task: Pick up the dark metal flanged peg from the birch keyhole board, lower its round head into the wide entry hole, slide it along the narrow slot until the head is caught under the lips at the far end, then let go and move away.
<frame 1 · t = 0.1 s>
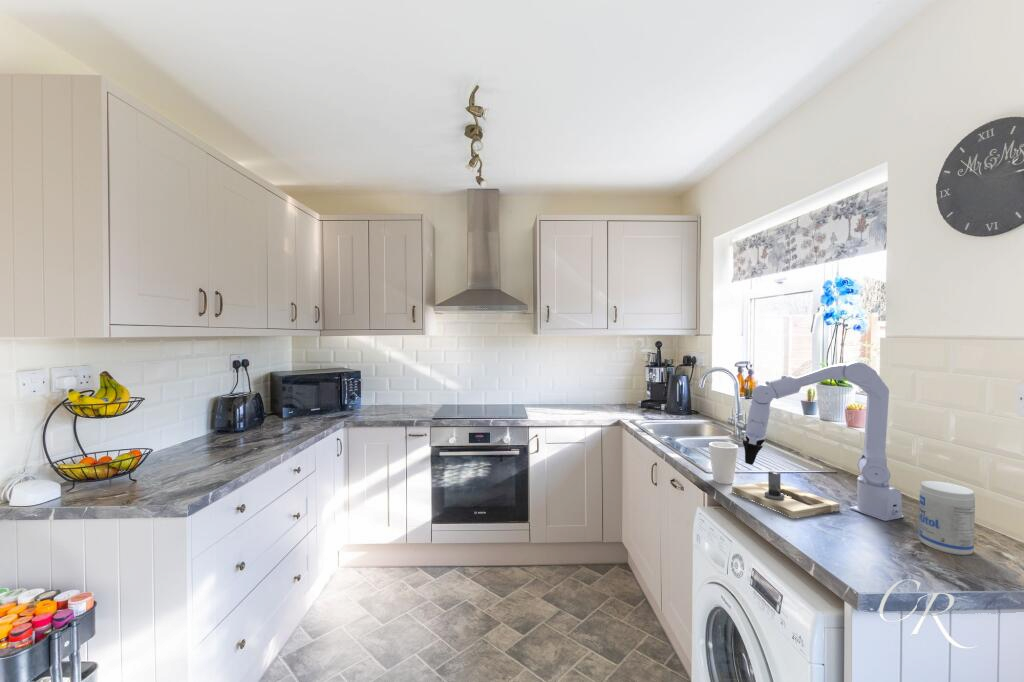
hand: (750, 461, 144), 10 cm above the worktop, tool pointing down, fingers open, 7 cm apart
peg: (774, 497, 134), point 2 cm above the worktop, touching keyhole board
keyhole board: (782, 501, 136), on the worktop
foam cup: (723, 481, 155), on the worktop
supplement tub: (945, 547, 106), on the worktop
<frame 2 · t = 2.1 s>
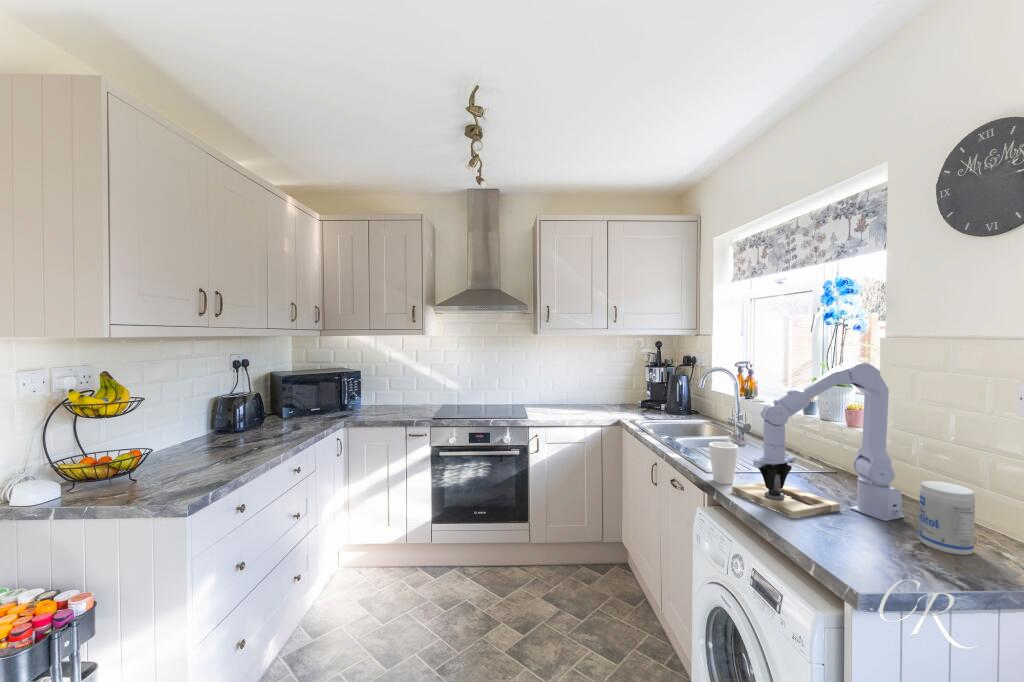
hand: (774, 488, 134), 5 cm above the worktop, tool pointing down, fingers closed on peg, 3 cm apart
peg: (774, 497, 134), point 2 cm above the worktop, touching gripper, keyhole board
everything else where it was.
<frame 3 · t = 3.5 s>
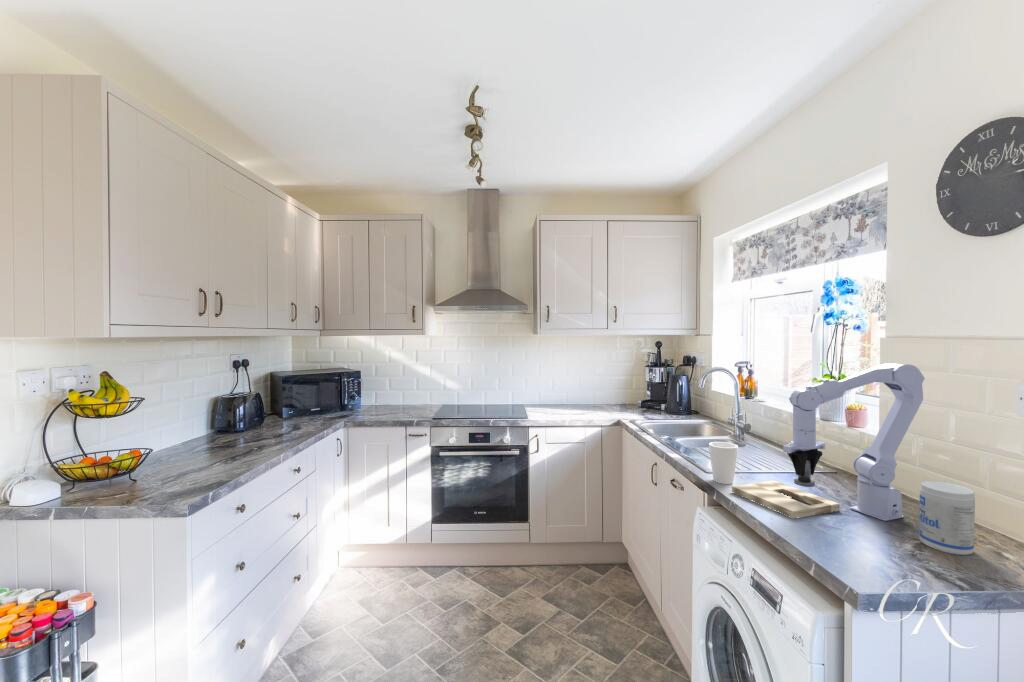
hand: (804, 474, 131), 10 cm above the worktop, tool pointing down, fingers closed on peg, 3 cm apart
peg: (804, 484, 131), point 7 cm above the worktop, touching gripper
everything else where it was.
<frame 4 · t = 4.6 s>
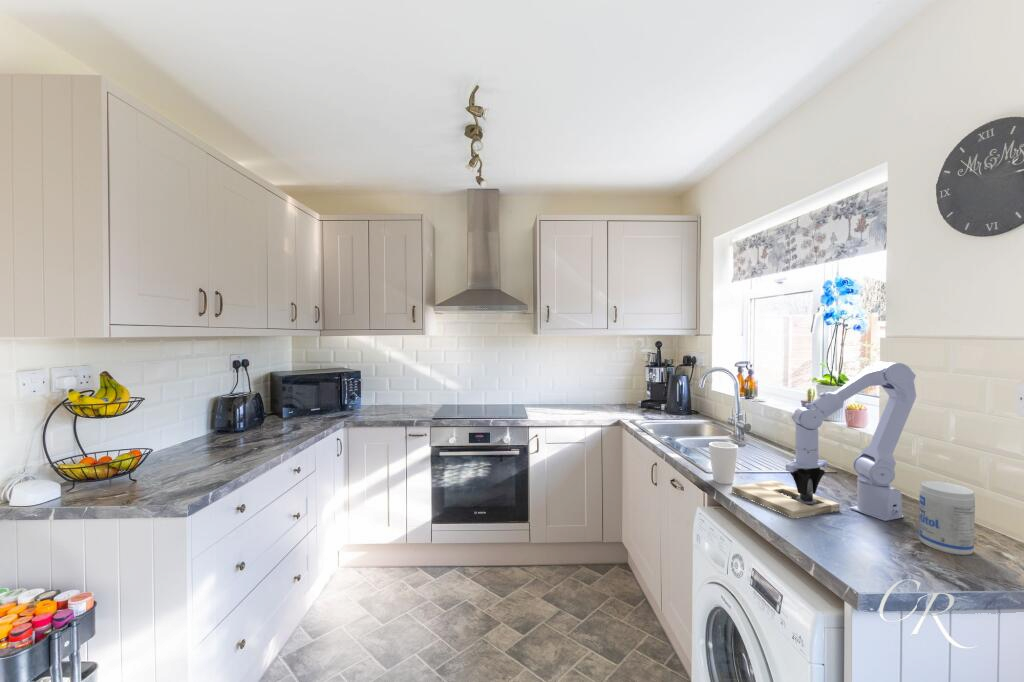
hand: (806, 493, 131), 4 cm above the worktop, tool pointing down, fingers closed on peg, 3 cm apart
peg: (806, 502, 131), point 1 cm above the worktop, touching gripper
everything else where it was.
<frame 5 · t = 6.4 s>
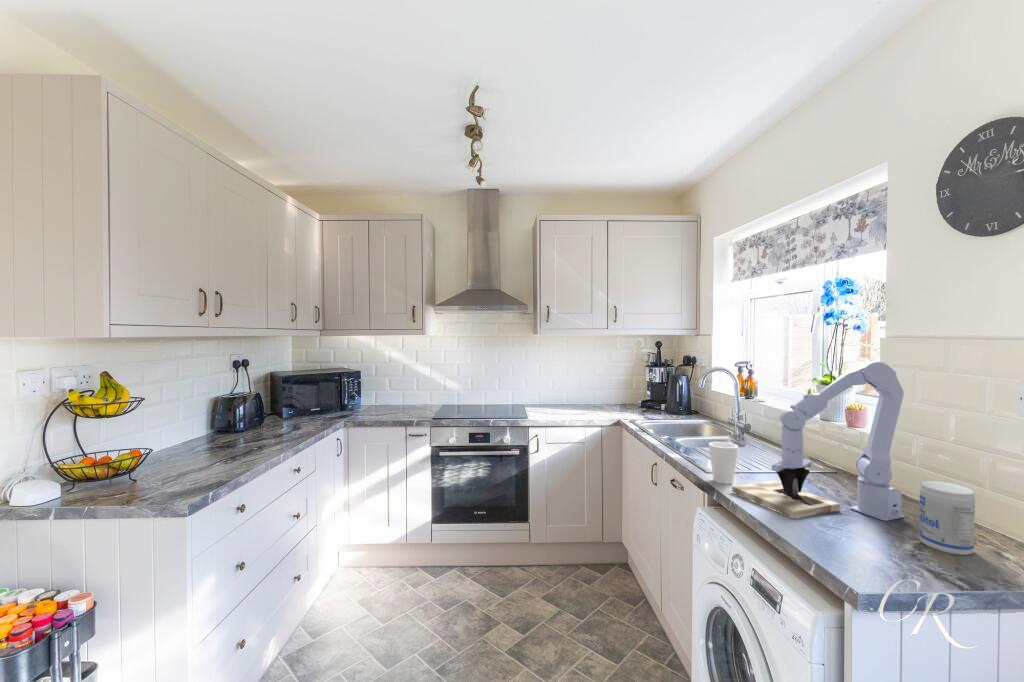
hand: (792, 491, 136), 3 cm above the worktop, tool pointing down, fingers closed on peg, 3 cm apart
peg: (792, 501, 136), resting in keyhole board, touching gripper
everything else where it was.
when the fingers open (3 cm above the worktop, at t = 7.5 s): peg stays where it is, resting in keyhole board.
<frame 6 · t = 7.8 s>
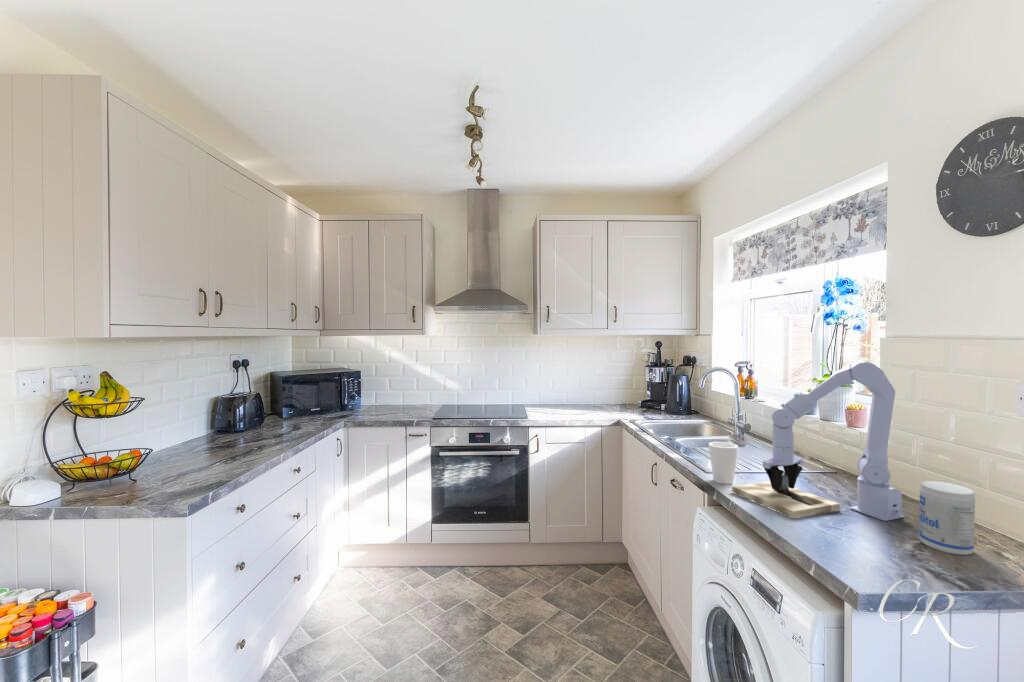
hand: (783, 488, 139), 3 cm above the worktop, tool pointing down, fingers open, 5 cm apart
peg: (782, 498, 139), resting in keyhole board
everything else where it was.
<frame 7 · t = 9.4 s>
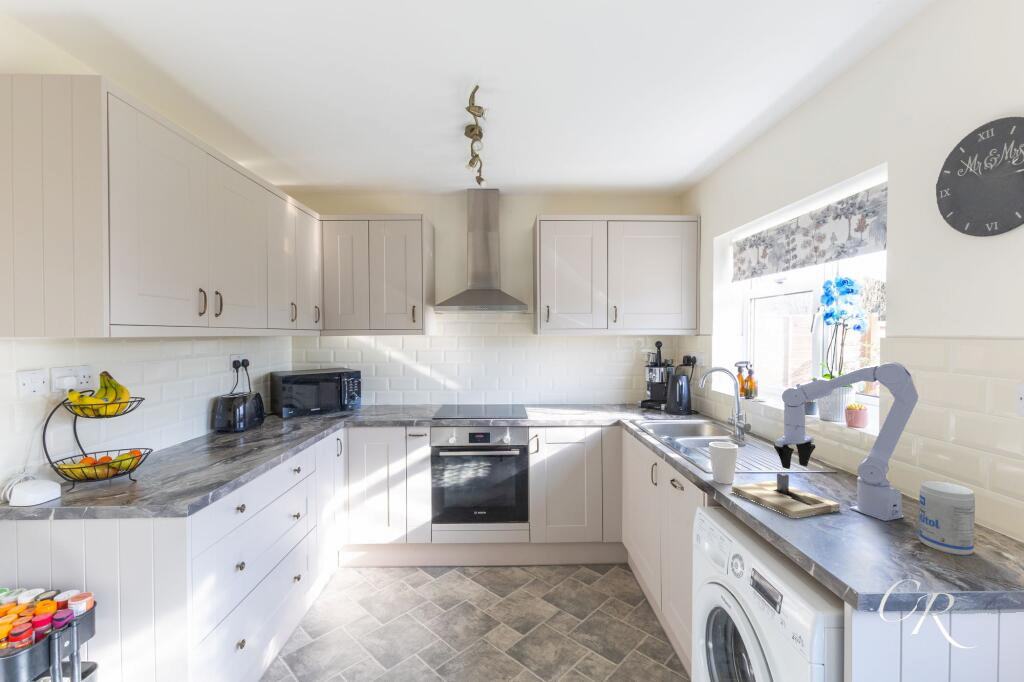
hand: (794, 466, 141), 9 cm above the worktop, tool pointing down, fingers open, 7 cm apart
nothing on the worktop moved.
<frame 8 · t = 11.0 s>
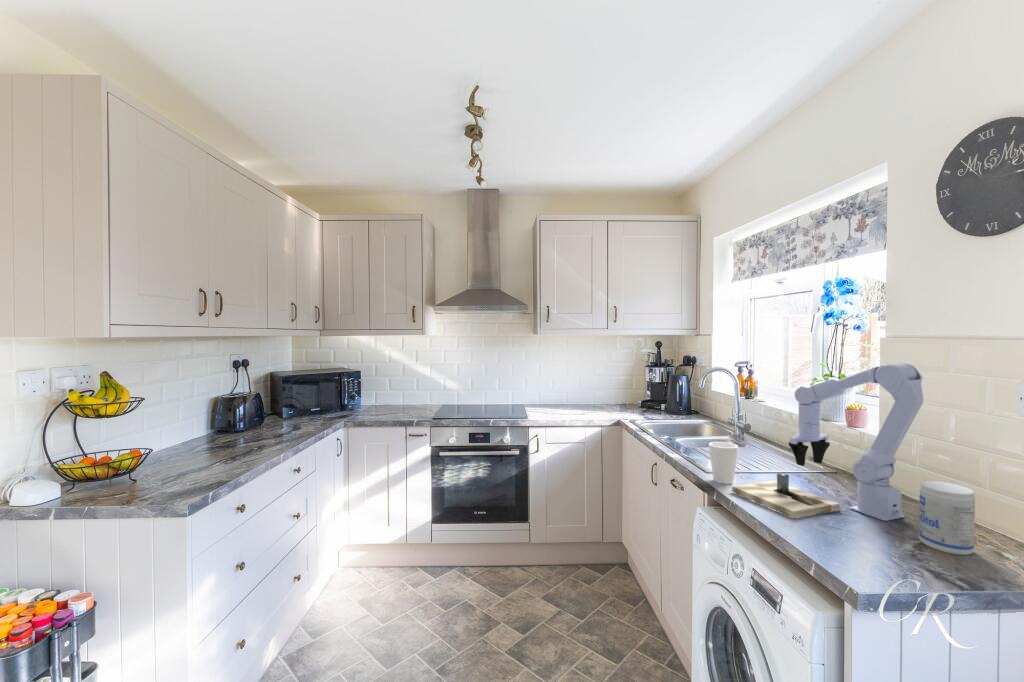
hand: (809, 463, 143), 9 cm above the worktop, tool pointing down, fingers open, 7 cm apart
nothing on the worktop moved.
at the end: peg 0.0 cm from the target spot on the keyhole board, point 0.0 cm above the keyhole board's base; peg tilted 0°; the gripper is holding nothing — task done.
